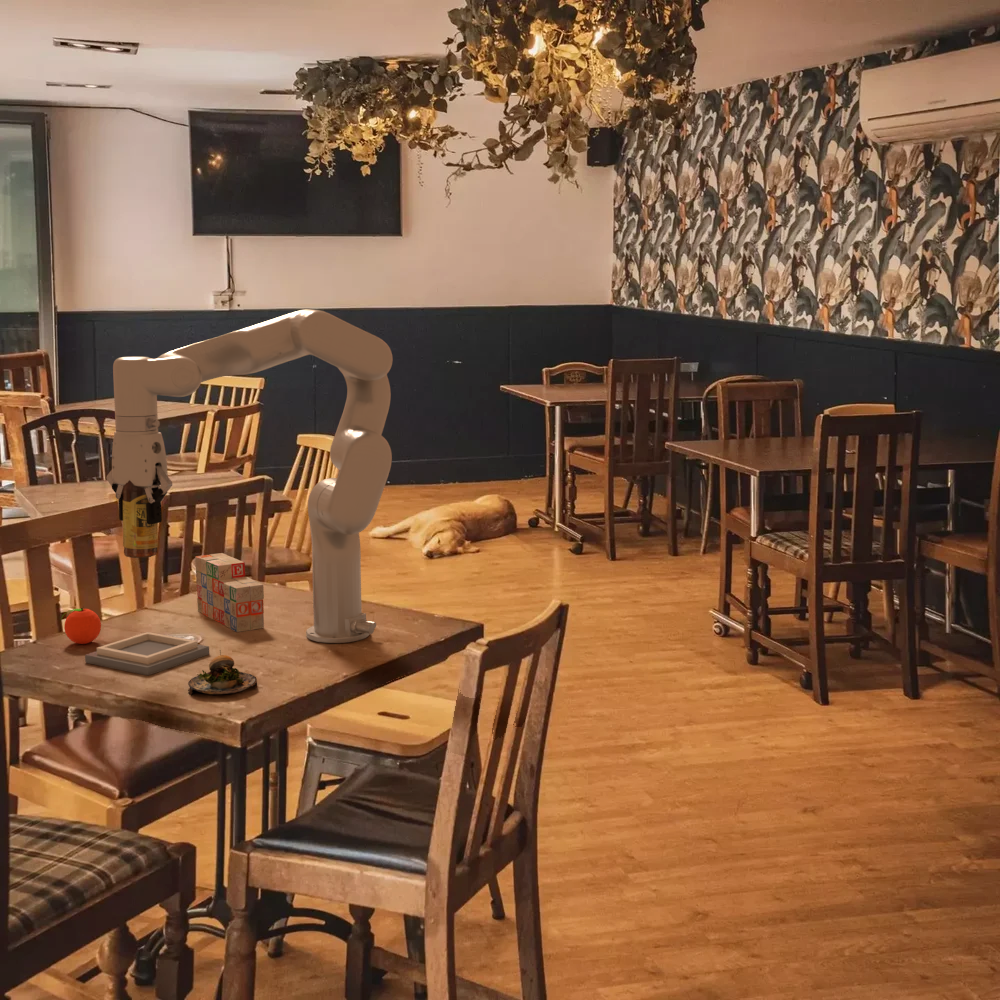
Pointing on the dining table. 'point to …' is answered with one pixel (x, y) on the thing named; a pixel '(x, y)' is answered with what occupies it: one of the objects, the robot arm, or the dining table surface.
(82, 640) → the clementine
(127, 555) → the sauce bottle
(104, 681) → the dining table surface
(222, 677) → the burger
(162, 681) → the dining table surface
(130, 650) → the slate coaster board
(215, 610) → the stack of blocks
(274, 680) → the dining table surface
